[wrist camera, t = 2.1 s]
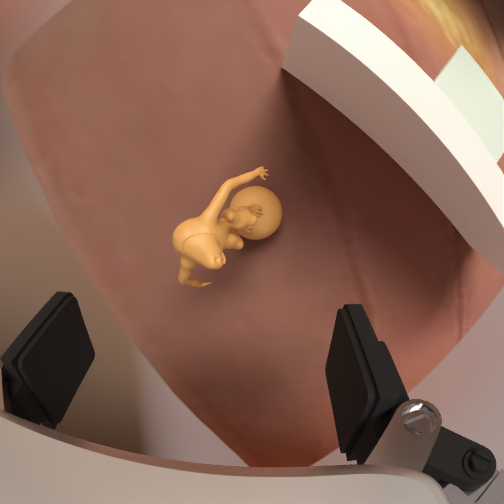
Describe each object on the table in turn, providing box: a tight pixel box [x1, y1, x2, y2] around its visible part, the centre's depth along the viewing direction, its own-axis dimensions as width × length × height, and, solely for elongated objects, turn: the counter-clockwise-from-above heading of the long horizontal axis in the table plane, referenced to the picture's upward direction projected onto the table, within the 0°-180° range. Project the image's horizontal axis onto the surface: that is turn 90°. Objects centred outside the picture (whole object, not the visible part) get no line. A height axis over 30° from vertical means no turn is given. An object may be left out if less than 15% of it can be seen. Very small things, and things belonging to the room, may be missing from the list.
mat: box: [433, 45, 504, 163], centre depth 20 cm, size 10×10×1 cm
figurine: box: [173, 167, 282, 287], centre depth 19 cm, size 8×6×12 cm
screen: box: [282, 0, 504, 275], centre depth 16 cm, size 24×2×13 cm, turn 54°
